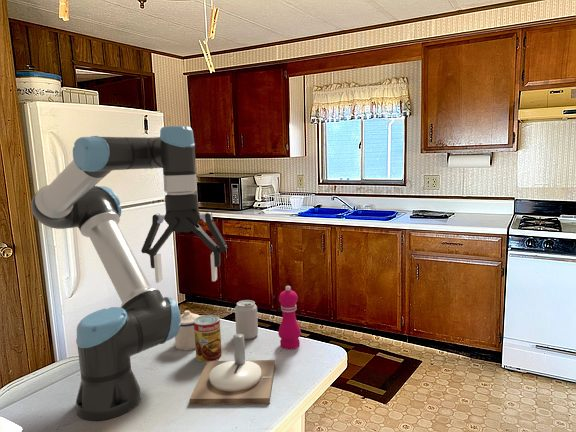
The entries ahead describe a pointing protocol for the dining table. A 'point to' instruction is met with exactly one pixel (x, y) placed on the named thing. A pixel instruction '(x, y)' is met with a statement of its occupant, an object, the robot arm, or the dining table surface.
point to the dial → (236, 370)
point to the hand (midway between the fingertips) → (186, 280)
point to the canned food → (207, 338)
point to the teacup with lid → (186, 331)
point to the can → (246, 319)
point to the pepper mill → (289, 320)
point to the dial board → (253, 395)
